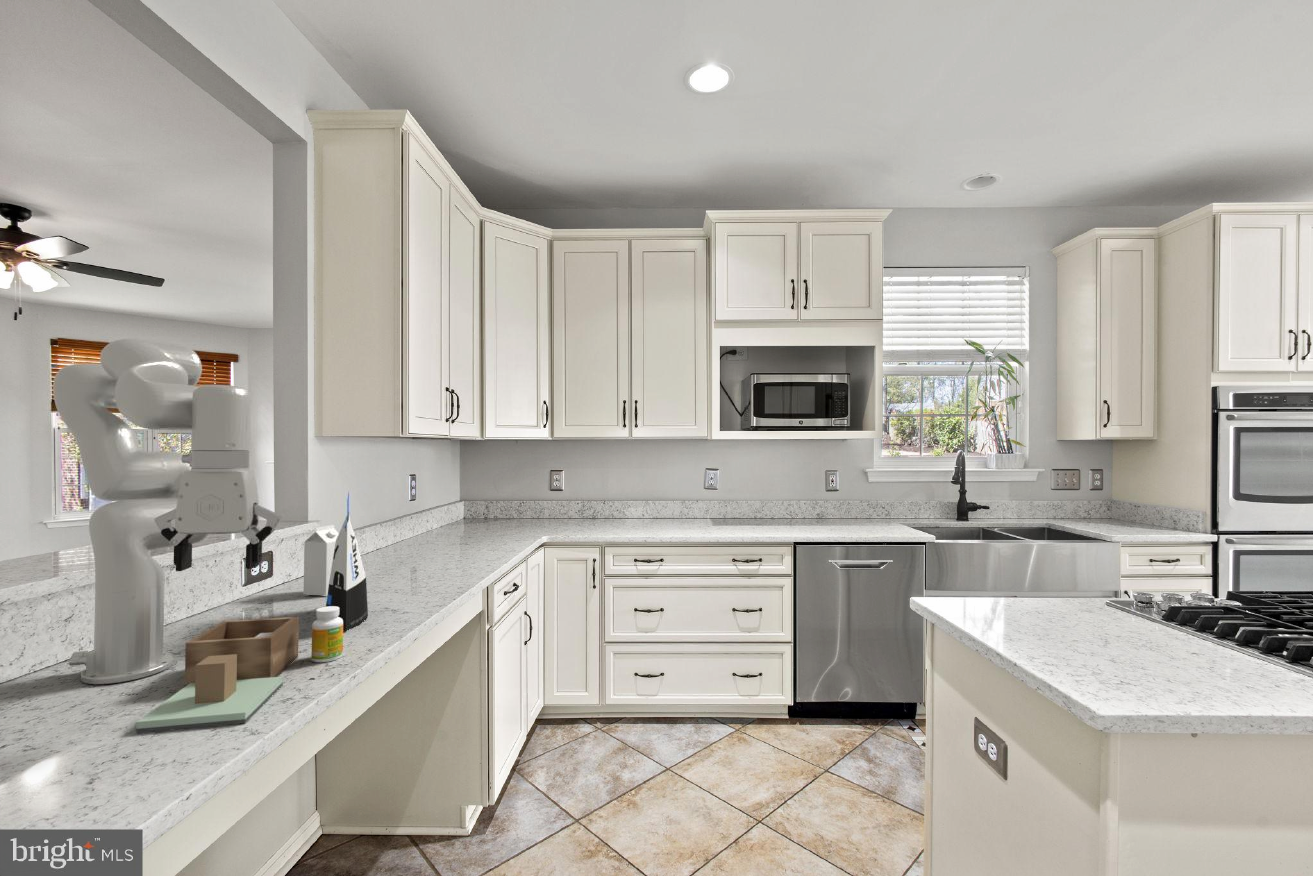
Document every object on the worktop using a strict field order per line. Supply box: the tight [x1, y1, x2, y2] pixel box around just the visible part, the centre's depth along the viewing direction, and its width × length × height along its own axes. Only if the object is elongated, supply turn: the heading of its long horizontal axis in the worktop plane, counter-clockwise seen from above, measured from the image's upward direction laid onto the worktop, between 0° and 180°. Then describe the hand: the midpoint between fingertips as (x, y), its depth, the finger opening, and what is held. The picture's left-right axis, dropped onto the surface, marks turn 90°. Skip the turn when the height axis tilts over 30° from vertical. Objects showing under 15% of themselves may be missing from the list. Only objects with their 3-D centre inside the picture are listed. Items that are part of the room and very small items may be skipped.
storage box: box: [184, 616, 300, 687], centre depth 107 cm, size 13×13×8 cm
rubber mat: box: [135, 682, 284, 734], centre depth 93 cm, size 14×14×1 cm
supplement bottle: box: [310, 606, 344, 663], centre depth 114 cm, size 5×5×10 cm
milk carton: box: [303, 524, 339, 596], centre depth 164 cm, size 7×7×19 cm
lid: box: [135, 654, 284, 730], centre depth 93 cm, size 14×14×7 cm
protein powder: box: [325, 491, 369, 633], centre depth 141 cm, size 10×24×30 cm, turn 27°
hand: (218, 568), depth 93 cm, fingers open, 9 cm apart
